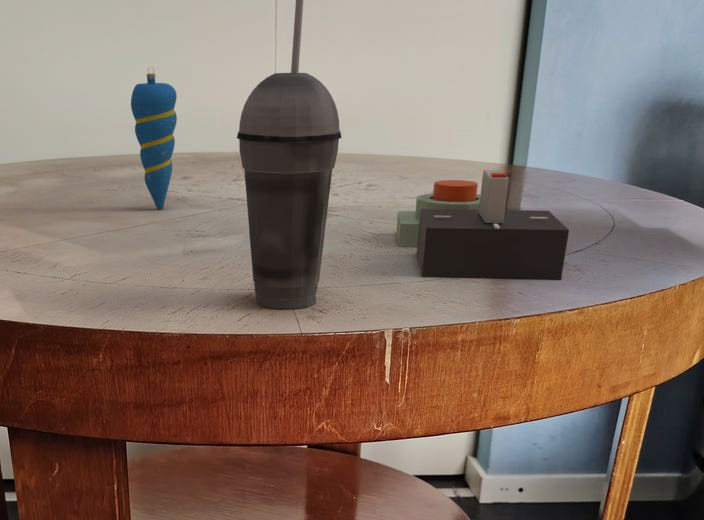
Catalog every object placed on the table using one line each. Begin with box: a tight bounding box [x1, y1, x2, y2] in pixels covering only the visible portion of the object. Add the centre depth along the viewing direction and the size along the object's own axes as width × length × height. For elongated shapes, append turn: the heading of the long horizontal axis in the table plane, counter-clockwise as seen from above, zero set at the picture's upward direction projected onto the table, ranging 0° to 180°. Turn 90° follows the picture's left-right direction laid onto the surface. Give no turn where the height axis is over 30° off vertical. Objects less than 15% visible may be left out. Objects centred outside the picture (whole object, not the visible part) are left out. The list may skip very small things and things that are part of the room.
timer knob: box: [479, 169, 510, 223], centre depth 74 cm, size 5×1×4 cm, turn 172°
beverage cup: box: [236, 0, 342, 310], centre depth 63 cm, size 7×7×20 cm
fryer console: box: [416, 209, 570, 281], centre depth 76 cm, size 11×9×4 cm
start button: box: [432, 179, 479, 202], centre depth 85 cm, size 4×4×2 cm
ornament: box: [130, 66, 178, 210], centre depth 102 cm, size 5×5×15 cm
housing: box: [396, 192, 481, 248], centre depth 86 cm, size 10×7×4 cm
